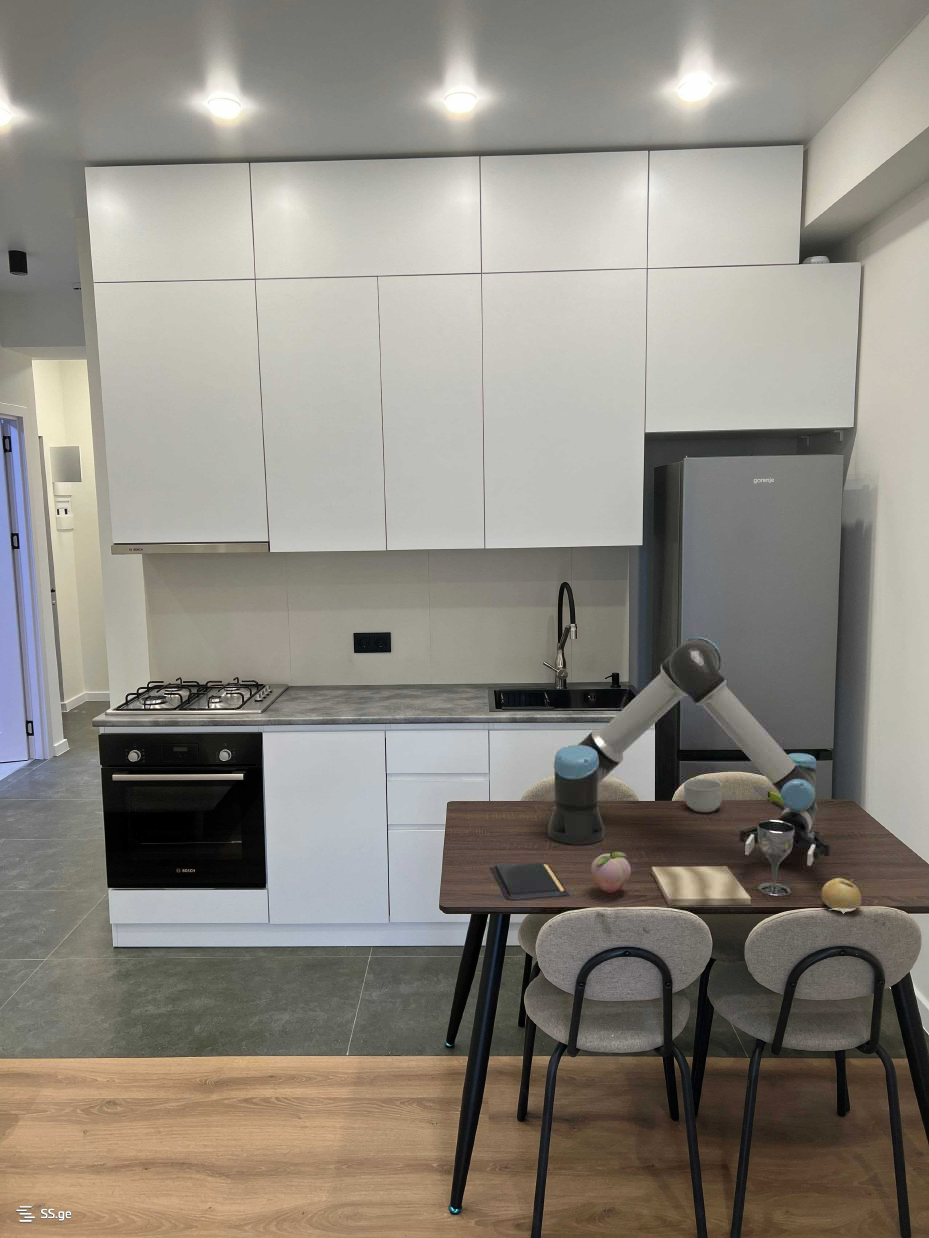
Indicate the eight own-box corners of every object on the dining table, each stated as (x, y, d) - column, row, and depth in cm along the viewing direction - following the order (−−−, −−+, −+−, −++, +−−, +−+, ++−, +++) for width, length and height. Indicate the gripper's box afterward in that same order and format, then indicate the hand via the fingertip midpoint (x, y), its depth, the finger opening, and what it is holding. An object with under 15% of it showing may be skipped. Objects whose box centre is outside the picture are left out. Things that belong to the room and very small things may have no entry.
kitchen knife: (749, 791, 275) (749, 782, 275) (753, 791, 276) (753, 781, 275) (782, 808, 253) (782, 797, 253) (786, 808, 253) (786, 797, 253)
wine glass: (798, 896, 195) (800, 832, 193) (762, 896, 195) (764, 832, 194) (785, 882, 203) (787, 820, 201) (751, 882, 203) (752, 820, 201)
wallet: (489, 861, 214) (549, 858, 216) (489, 869, 214) (549, 865, 216) (503, 895, 194) (570, 891, 196) (503, 903, 194) (570, 899, 196)
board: (668, 905, 191) (669, 898, 191) (651, 872, 209) (651, 866, 209) (750, 904, 191) (750, 898, 191) (726, 872, 209) (726, 866, 209)
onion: (821, 913, 187) (822, 881, 186) (820, 898, 194) (821, 867, 193) (862, 918, 184) (863, 886, 183) (859, 903, 191) (860, 872, 191)
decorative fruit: (607, 881, 204) (607, 840, 203) (636, 891, 198) (636, 849, 197) (582, 893, 198) (582, 851, 197) (611, 904, 192) (611, 860, 191)
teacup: (723, 816, 249) (723, 789, 248) (684, 814, 251) (684, 787, 250) (719, 801, 262) (719, 775, 262) (682, 799, 265) (682, 773, 264)
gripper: (846, 849, 211) (835, 880, 192) (741, 832, 223) (721, 860, 205) (848, 819, 210) (837, 848, 191) (742, 803, 222) (722, 829, 204)
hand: (777, 854), depth 198 cm, fingers open, 13 cm apart
